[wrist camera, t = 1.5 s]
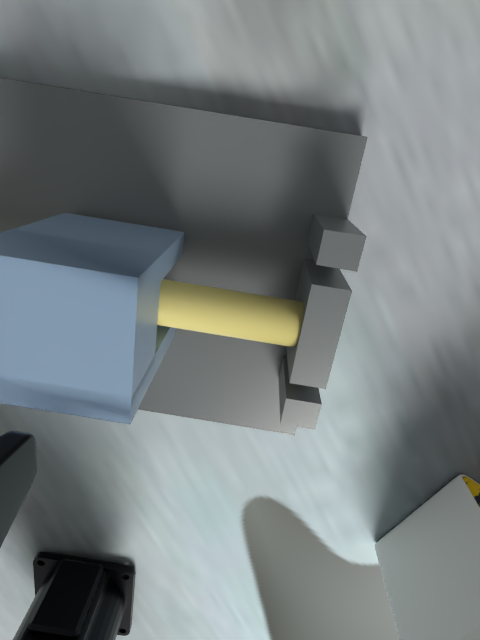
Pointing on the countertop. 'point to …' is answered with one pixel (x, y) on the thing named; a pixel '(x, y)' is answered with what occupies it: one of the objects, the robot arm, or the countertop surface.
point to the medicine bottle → (436, 566)
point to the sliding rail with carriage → (205, 236)
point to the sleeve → (83, 314)
